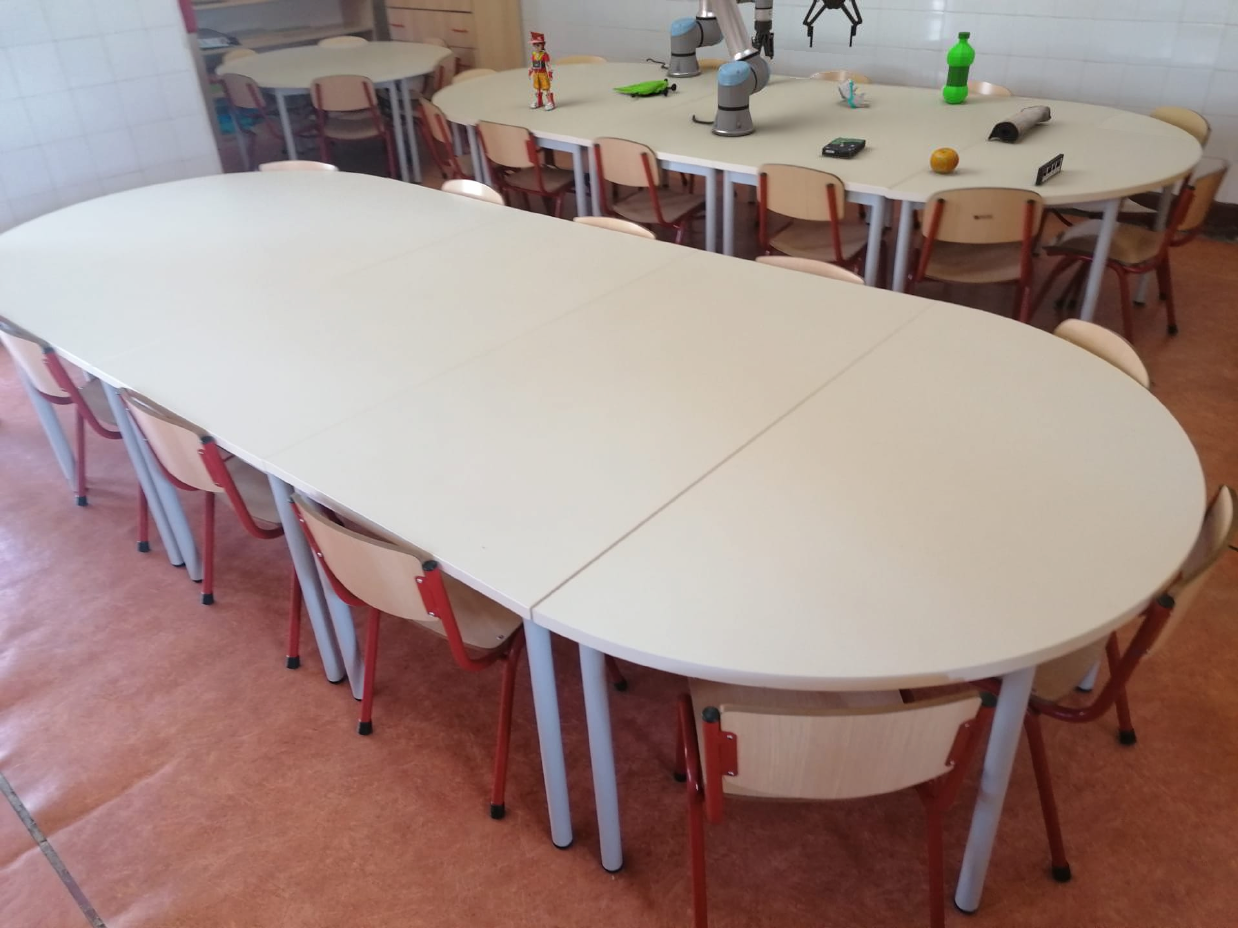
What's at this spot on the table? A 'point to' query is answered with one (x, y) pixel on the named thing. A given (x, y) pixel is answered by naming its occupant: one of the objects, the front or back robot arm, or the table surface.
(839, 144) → the disk drive
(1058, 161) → the midi keyboard
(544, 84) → the toy
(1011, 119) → the rolled mat
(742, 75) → the front robot arm
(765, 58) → the can
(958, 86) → the plastic bottle
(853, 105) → the anatomical model
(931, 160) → the fruit
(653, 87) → the toy
